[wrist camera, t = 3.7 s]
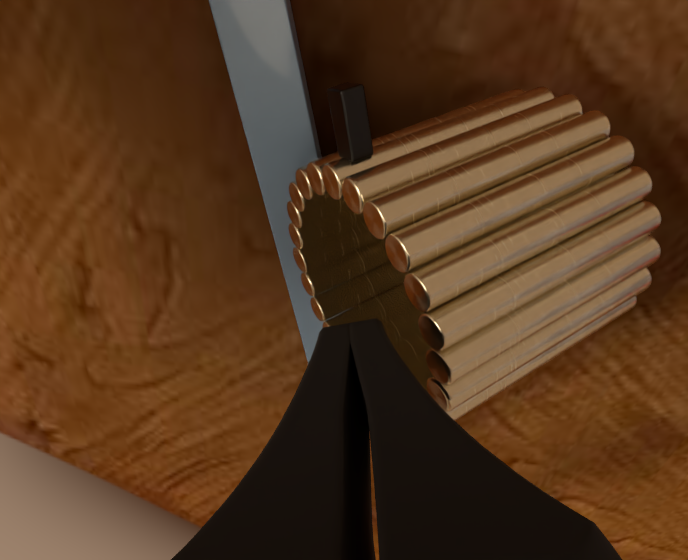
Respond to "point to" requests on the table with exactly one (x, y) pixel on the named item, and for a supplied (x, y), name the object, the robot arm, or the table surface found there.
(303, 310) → the rectangular block
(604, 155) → the pot
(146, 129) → the table surface
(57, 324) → the table surface
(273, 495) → the robot arm
